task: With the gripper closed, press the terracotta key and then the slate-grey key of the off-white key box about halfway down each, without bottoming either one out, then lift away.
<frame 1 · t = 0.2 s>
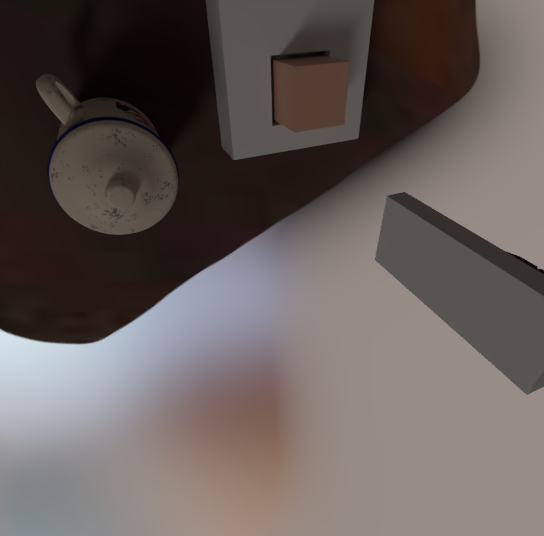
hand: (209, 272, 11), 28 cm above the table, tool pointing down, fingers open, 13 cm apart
teacup with lid: (101, 132, 33), on the table
terracotta key: (309, 93, 32), point 6 cm above the table, slide at 0.0 cm
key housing: (282, 15, 33), on the table
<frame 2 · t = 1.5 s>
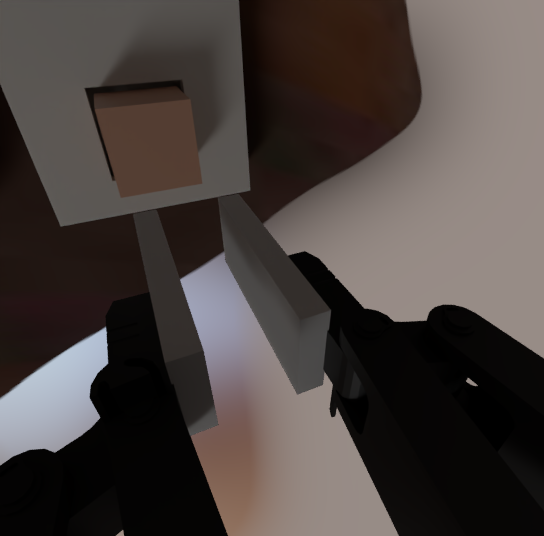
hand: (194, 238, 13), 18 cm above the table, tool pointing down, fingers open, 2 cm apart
terracotta key: (149, 139, 22), point 6 cm above the table, slide at 0.0 cm
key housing: (119, 29, 23), on the table
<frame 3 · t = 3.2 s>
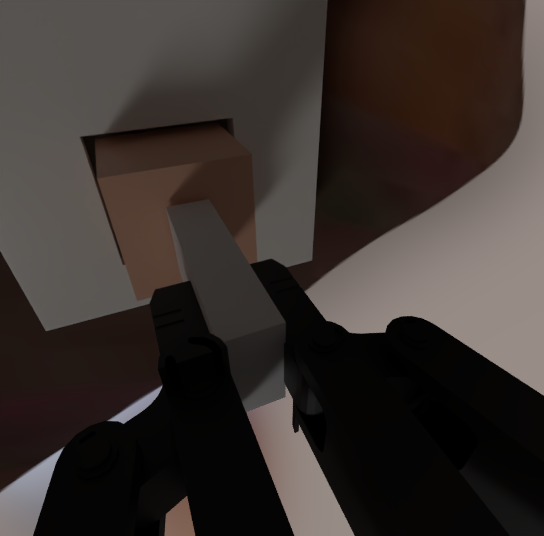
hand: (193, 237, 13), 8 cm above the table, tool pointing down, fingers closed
terracotta key: (179, 206, 15), point 5 cm above the table, slide at 0.7 cm, touching gripper
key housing: (134, 39, 15), on the table
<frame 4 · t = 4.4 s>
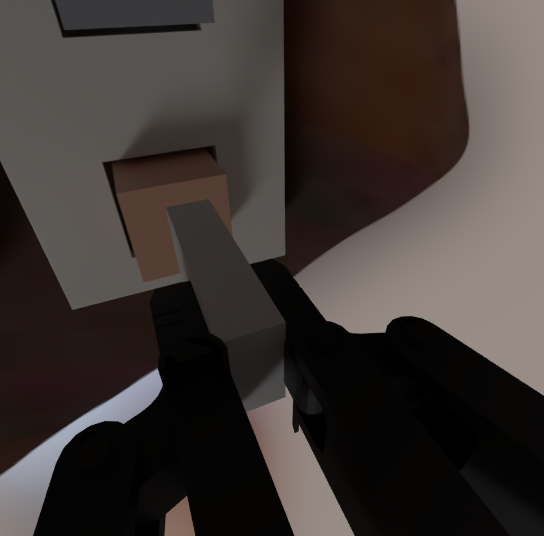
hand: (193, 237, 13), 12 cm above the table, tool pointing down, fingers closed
terracotta key: (175, 211, 20), point 5 cm above the table, slide at 0.7 cm
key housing: (140, 85, 20), on the table
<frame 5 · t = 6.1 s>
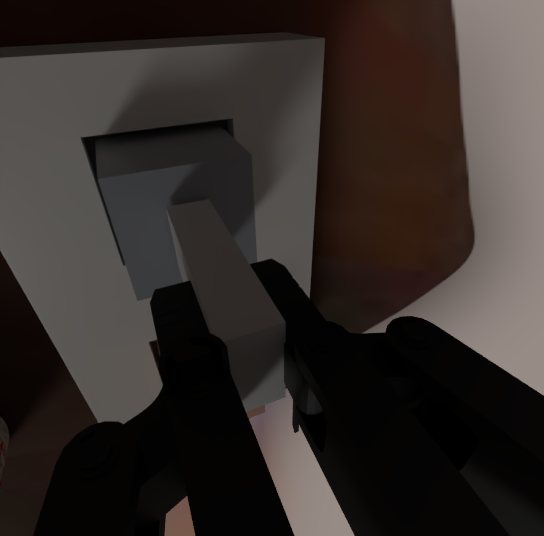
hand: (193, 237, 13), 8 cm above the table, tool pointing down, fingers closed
grey key: (179, 206, 15), point 5 cm above the table, slide at 0.7 cm, touching gripper
terracotta key: (211, 372, 21), point 5 cm above the table, slide at 0.7 cm
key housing: (179, 252, 22), on the table
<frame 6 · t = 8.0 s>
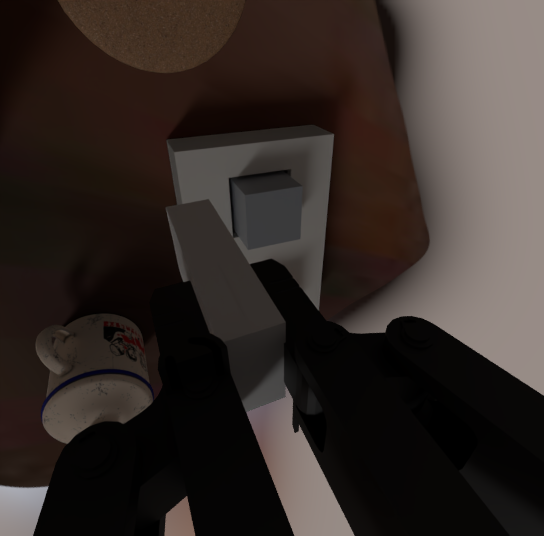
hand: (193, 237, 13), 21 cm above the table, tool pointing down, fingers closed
teacup with lid: (91, 334, 38), on the table
grey key: (265, 208, 32), point 5 cm above the table, slide at 0.8 cm
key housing: (249, 237, 39), on the table
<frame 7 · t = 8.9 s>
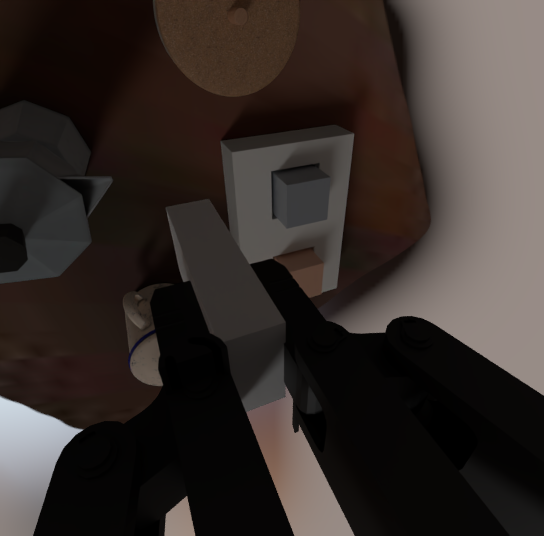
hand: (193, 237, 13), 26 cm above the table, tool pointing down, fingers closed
lidded jar: (206, 13, 32), on the table
teacup with lid: (153, 301, 46), on the table
grey key: (299, 195, 40), point 5 cm above the table, slide at 0.8 cm
terracotta key: (297, 274, 46), point 5 cm above the table, slide at 0.7 cm
coffee maker: (25, 156, 32), on the table
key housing: (281, 219, 47), on the table
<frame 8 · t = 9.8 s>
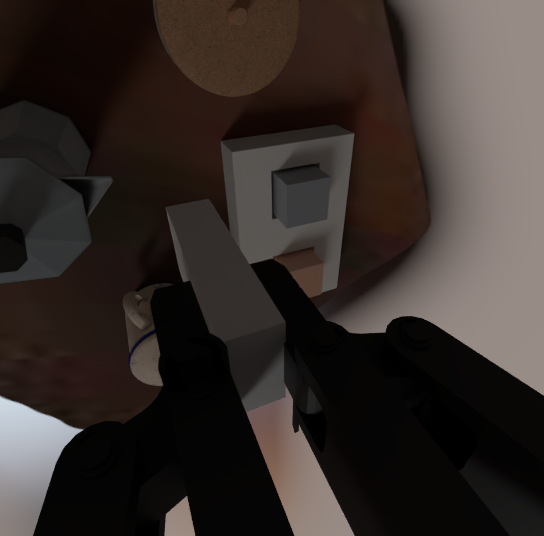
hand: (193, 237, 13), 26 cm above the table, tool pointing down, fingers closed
lidded jar: (206, 13, 32), on the table
teacup with lid: (153, 301, 46), on the table
grey key: (299, 195, 40), point 5 cm above the table, slide at 0.8 cm
terracotta key: (297, 274, 46), point 5 cm above the table, slide at 0.7 cm
coffee maker: (25, 156, 32), on the table
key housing: (281, 219, 47), on the table
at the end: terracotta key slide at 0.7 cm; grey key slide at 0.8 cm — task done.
